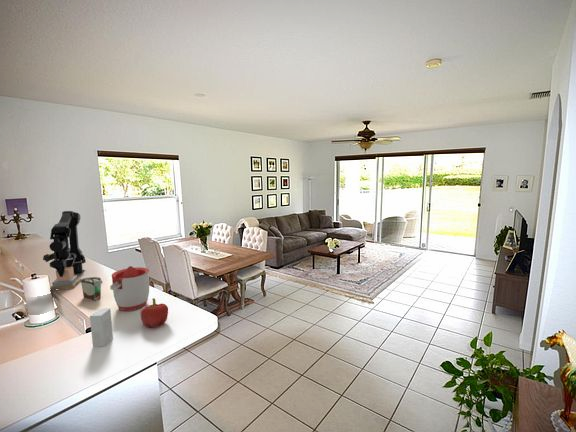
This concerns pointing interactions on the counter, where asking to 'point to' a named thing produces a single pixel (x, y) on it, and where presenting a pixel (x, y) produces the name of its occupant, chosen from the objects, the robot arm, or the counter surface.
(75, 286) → the walnut slab
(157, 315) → the vegetable
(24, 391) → the counter surface
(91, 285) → the food container
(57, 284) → the grey slab
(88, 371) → the counter surface
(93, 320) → the skincare box
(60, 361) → the counter surface
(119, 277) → the citrus juicer
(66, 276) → the terracotta block
